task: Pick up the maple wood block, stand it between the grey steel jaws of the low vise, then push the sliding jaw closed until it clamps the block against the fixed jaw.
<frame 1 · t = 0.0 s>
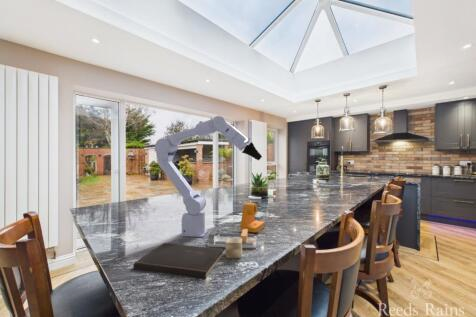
hand: (260, 158, 93), 32 cm above the kitchen island, tool tilted 50°, fingers open, 7 cm apart
maple block: (234, 255, 75), on the kitchen island
bracket: (253, 230, 101), on the kitchen island
sliding jaw: (244, 235, 85), point 3 cm above the kitchen island, slide at 10.0 cm
vise base: (232, 242, 86), on the kitchen island
dark brown flat slab: (181, 263, 71), on the kitchen island
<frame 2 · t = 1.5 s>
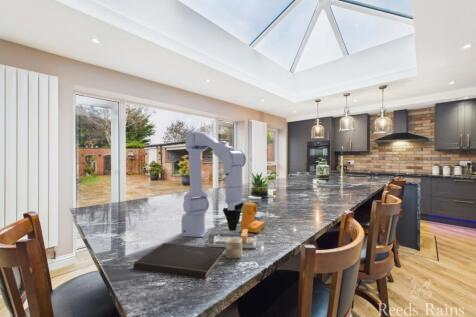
hand: (234, 226, 75), 9 cm above the kitchen island, tool pointing down, fingers open, 7 cm apart
nothing on the kitchen island moved.
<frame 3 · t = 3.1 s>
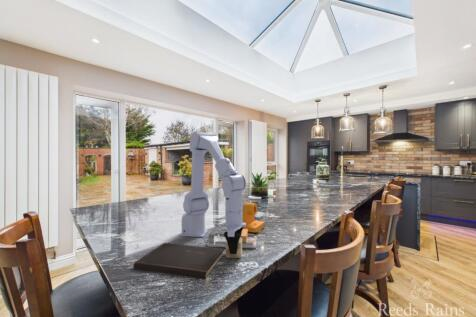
hand: (234, 250, 75), 1 cm above the kitchen island, tool pointing down, fingers closed on maple block, 4 cm apart
maple block: (234, 255, 75), on the kitchen island, touching gripper
everything else where it was.
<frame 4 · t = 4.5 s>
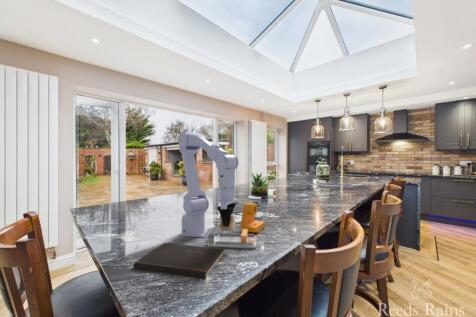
hand: (227, 224, 82), 8 cm above the kitchen island, tool pointing down, fingers closed on maple block, 4 cm apart
maple block: (227, 228, 82), point 7 cm above the kitchen island, touching gripper
everything else where it was.
when the fingers open (4 cm above the kitchen island, at t = 6.1 s): maple block drops 1 cm, resting on vise base.
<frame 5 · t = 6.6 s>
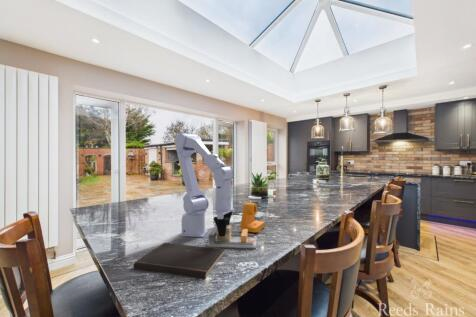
hand: (223, 232, 86), 4 cm above the kitchen island, tool pointing down, fingers open, 7 cm apart
maple block: (224, 239, 86), point 1 cm above the kitchen island, touching vise base
everything else where it was.
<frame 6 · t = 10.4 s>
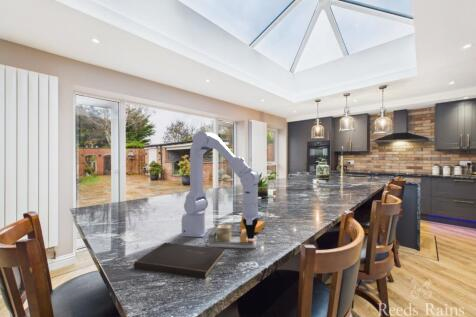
hand: (250, 238, 85), 2 cm above the kitchen island, tool pointing down, fingers closed, pressing on sliding jaw
sliding jaw: (243, 235, 85), point 3 cm above the kitchen island, slide at 9.8 cm, touching gripper
everything else where it was.
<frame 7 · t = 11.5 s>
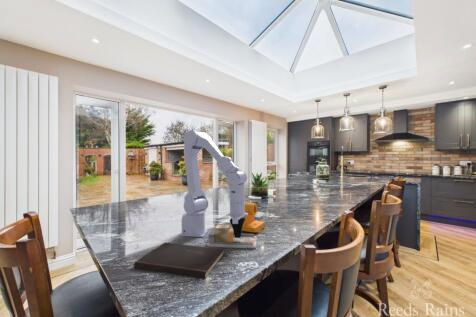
hand: (237, 237, 86), 2 cm above the kitchen island, tool pointing down, fingers closed, pressing on sliding jaw
maple block: (222, 239, 86), point 1 cm above the kitchen island, touching sliding jaw, vise base
sliding jaw: (231, 235, 86), point 3 cm above the kitchen island, slide at 5.0 cm, touching gripper, maple block
everything else where it was.
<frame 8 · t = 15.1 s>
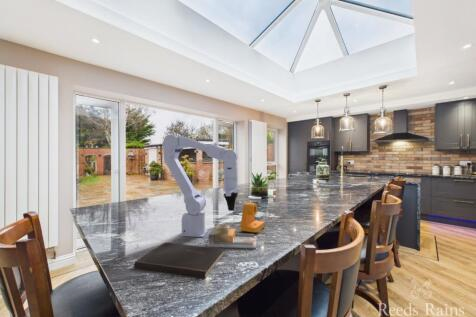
hand: (231, 210, 94), 10 cm above the kitchen island, tool pointing down, fingers closed
maple block: (222, 239, 86), point 1 cm above the kitchen island, touching vise base
sliding jaw: (231, 235, 86), point 3 cm above the kitchen island, slide at 5.0 cm
everything else where it was.
at the end: sliding jaw slide at 5.0 cm; maple block 0.2 cm from the target spot on the vise base, point 1.0 cm above the vise base's base; maple block tilted 0° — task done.
